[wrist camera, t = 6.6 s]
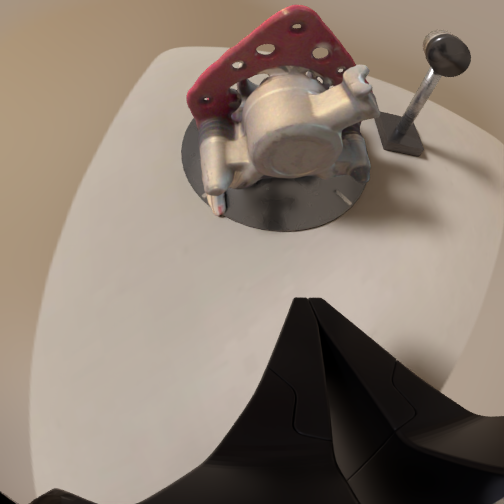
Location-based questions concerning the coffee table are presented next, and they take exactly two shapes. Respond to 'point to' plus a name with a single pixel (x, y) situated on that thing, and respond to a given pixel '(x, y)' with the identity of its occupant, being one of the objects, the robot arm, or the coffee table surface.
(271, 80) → the brake caliper
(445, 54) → the stand
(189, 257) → the coffee table surface
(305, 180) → the truing plate
